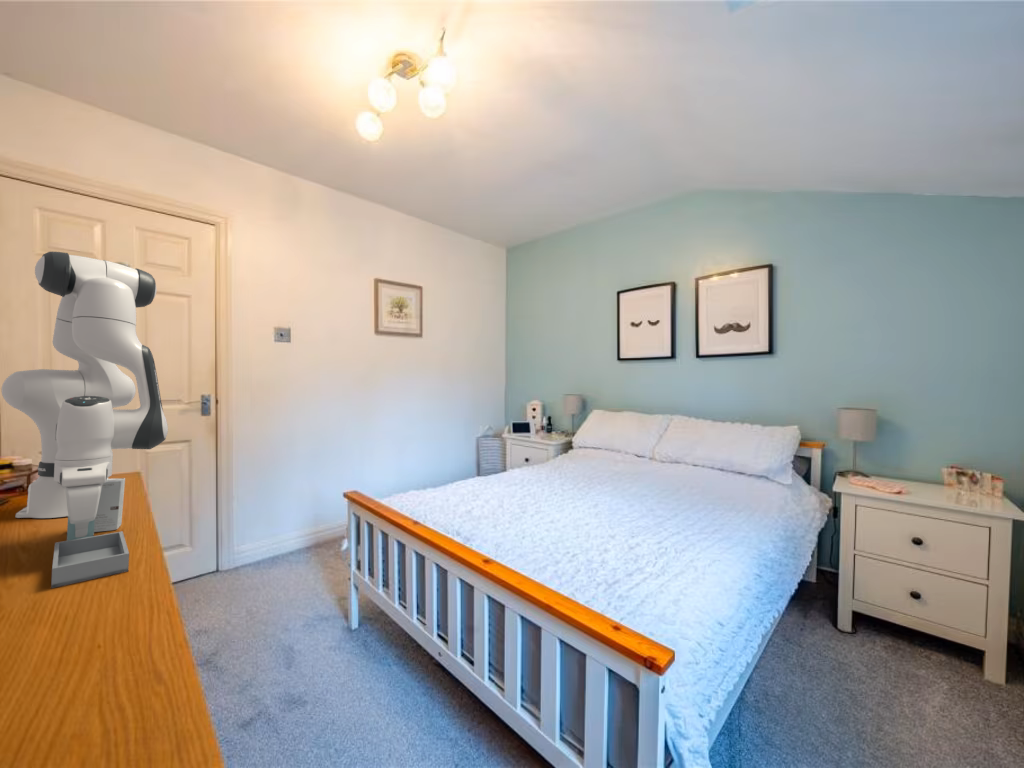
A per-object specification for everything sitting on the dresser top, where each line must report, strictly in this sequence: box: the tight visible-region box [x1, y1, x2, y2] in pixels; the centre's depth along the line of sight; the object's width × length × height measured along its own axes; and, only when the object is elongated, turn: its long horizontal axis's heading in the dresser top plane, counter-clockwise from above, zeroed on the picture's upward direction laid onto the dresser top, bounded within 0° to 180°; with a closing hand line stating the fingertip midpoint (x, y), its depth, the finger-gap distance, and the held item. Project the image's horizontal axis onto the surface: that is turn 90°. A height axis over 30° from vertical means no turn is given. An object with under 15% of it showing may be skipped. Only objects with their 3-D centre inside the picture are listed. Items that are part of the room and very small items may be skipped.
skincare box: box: [94, 477, 126, 533], centre depth 100 cm, size 6×4×12 cm
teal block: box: [66, 516, 95, 541], centre depth 89 cm, size 4×4×8 cm
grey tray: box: [50, 530, 130, 589], centre depth 81 cm, size 16×10×4 cm, turn 47°
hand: (81, 532), depth 89 cm, fingers closed on teal block, 4 cm apart
